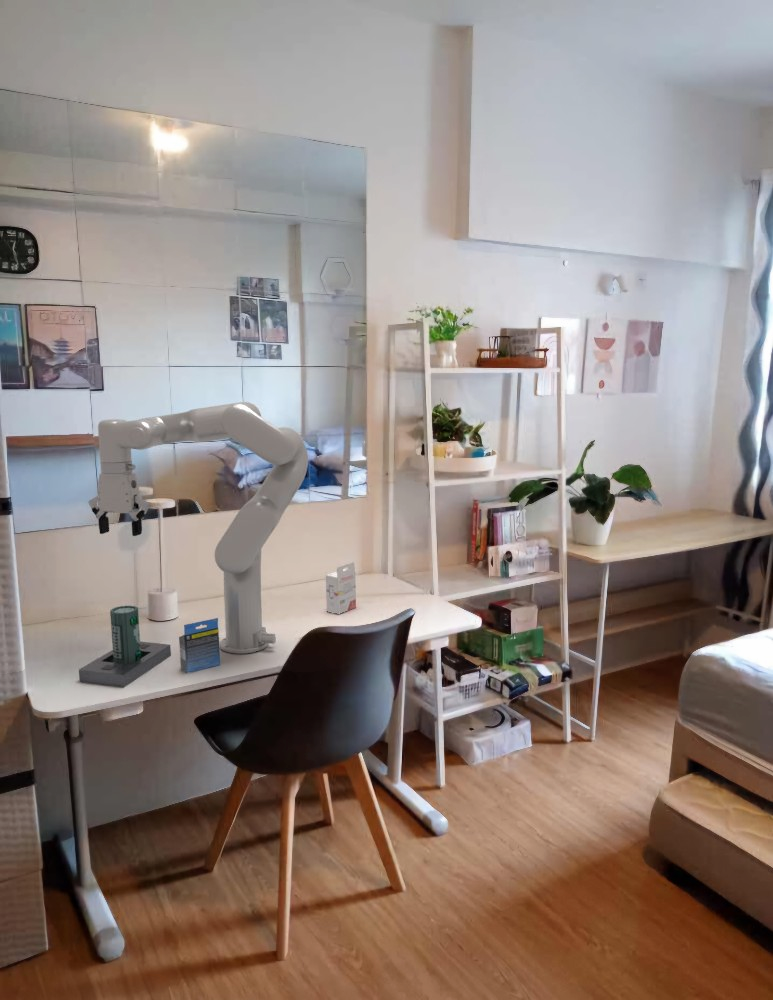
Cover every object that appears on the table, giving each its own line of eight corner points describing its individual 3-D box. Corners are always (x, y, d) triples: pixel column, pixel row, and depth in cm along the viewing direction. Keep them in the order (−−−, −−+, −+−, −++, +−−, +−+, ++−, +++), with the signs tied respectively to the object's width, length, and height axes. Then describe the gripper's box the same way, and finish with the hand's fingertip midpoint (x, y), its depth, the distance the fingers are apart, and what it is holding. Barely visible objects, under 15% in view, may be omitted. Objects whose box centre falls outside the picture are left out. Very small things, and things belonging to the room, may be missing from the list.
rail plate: (170, 655, 193) (170, 644, 192) (124, 687, 174) (123, 674, 173) (130, 651, 196) (129, 639, 196) (79, 681, 177) (78, 669, 177)
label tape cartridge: (214, 660, 190) (212, 613, 188) (220, 665, 187) (218, 617, 185) (180, 668, 185) (177, 620, 183) (186, 674, 182) (183, 625, 179)
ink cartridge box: (344, 605, 234) (343, 559, 231) (356, 608, 231) (356, 561, 228) (325, 612, 227) (324, 564, 225) (338, 615, 224) (337, 567, 222)
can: (145, 668, 185) (141, 609, 182) (121, 675, 181) (117, 615, 178) (133, 661, 189) (130, 604, 187) (110, 668, 185) (106, 609, 182)
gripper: (154, 467, 193) (158, 532, 196) (96, 465, 198) (101, 529, 201) (137, 471, 186) (141, 539, 189) (77, 469, 191) (82, 535, 194)
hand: (120, 533), depth 195 cm, fingers open, 9 cm apart
